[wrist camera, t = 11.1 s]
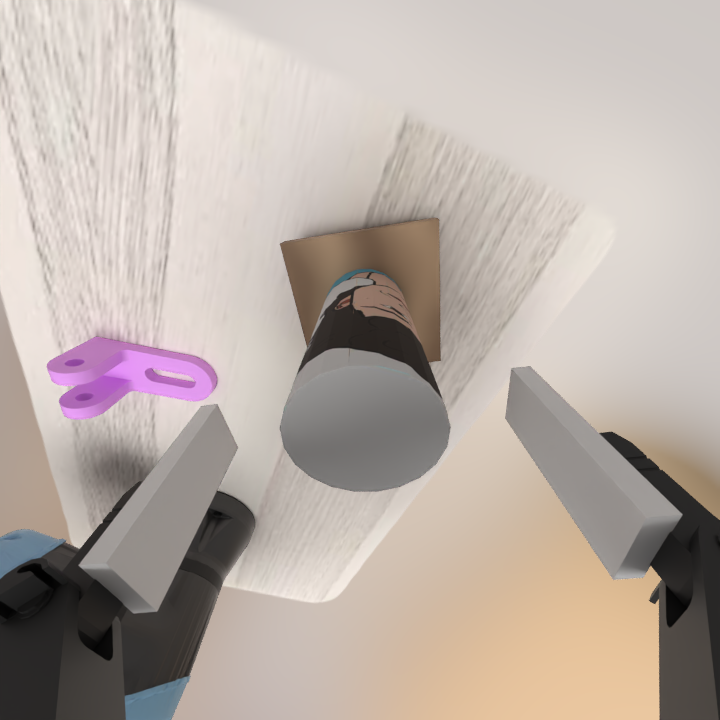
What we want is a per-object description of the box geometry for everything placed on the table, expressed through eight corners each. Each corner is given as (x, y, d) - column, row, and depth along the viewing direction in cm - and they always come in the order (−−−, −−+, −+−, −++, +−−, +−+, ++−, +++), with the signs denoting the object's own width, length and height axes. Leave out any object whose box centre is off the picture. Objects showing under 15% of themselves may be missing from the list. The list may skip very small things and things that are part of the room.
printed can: (396, 349, 26) (426, 498, 13) (322, 339, 26) (279, 483, 13) (412, 275, 23) (474, 377, 10) (328, 262, 23) (279, 353, 10)
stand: (321, 351, 32) (314, 375, 28) (294, 236, 26) (280, 243, 22) (430, 337, 31) (440, 360, 27) (426, 215, 25) (438, 219, 21)
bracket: (106, 377, 35) (52, 415, 29) (97, 336, 32) (34, 368, 26) (217, 398, 36) (187, 438, 30) (217, 360, 33) (184, 396, 27)
